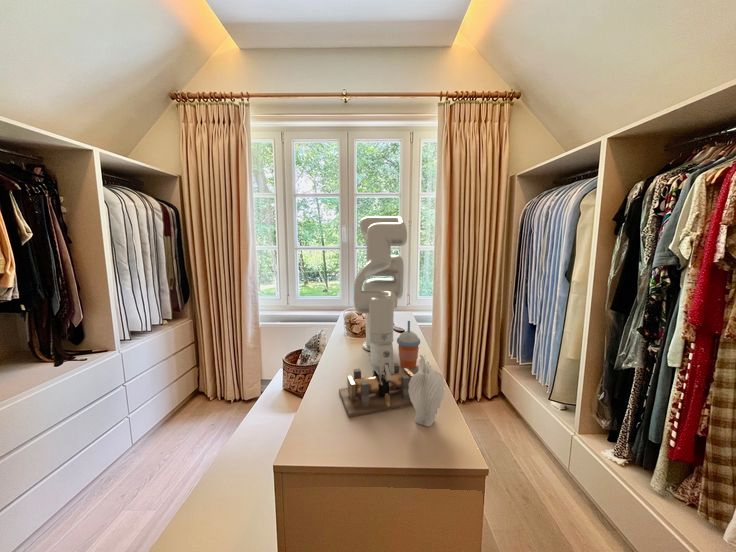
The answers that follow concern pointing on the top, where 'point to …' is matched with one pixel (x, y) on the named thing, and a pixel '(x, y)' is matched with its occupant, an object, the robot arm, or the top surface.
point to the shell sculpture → (426, 392)
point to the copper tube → (374, 384)
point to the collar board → (376, 397)
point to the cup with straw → (408, 348)
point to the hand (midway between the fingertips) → (380, 390)
